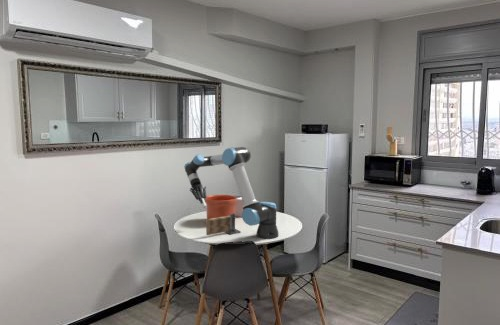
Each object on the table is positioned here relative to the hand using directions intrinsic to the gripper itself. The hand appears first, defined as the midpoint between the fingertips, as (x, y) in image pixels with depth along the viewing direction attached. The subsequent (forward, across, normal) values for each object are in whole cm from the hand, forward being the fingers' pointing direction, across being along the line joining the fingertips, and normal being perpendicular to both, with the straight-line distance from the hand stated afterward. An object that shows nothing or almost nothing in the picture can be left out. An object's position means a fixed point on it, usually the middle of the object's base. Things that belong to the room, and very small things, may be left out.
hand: (204, 206), depth 262 cm
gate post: (+24, -13, 0) cm, 27 cm away
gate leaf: (+23, -2, +1) cm, 23 cm away
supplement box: (-1, -45, -26) cm, 52 cm away
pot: (+3, -21, -21) cm, 30 cm away
